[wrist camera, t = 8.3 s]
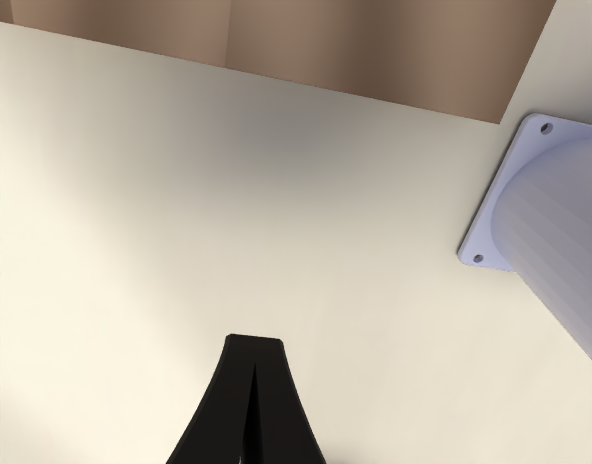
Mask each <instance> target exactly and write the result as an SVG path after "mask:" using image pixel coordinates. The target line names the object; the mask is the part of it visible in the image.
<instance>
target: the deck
mask: <svg viewBox="0 0 592 464" xmlns="http://www.w3.org/2000/svg"><path fill="white" fill-rule="evenodd" d="M555 2H556V0H0V22H5V23H10V24H15V25H19V26H24V27H29V28H34V29H39V30H44V31H48V32H53V33H58V34H63V35H68V36H73V37H78V38H82V39H87V40H92V41H97V42H102V43H107V44H112V45H116V46H121V47H126V48H131V49H136V50H141V51H146V52H150V53H155V54H160V55H165V56H170V57H175V58H179V59H184V60H189V61H194V62H199V63H204V64H209V65H213V66H218V67H223V68H228V69H233V70H238V71H243V72H247V73H252V74H257V75H262V76H267V77H272V78H277V79H281V80H286V81H291V82H296V83H301V84H306V85H311V86H315V87H320V88H325V89H330V90H335V91H340V92H344V93H349V94H354V95H359V96H364V97H369V98H374V99H378V100H383V101H388V102H393V103H398V104H403V105H408V106H412V107H417V108H422V109H427V110H432V111H437V112H442V113H446V114H451V115H456V116H461V117H466V118H471V119H475V120H480V121H485V122H490V123H495V124H500V122H501V119H502V117H503V115H504V113H505V111H506V109H507V106H508V104H509V102H510V100H511V98H512V96H513V93H514V91H515V89H516V87H517V85H518V83H519V80H520V78H521V76H522V74H523V72H524V70H525V67H526V65H527V63H528V61H529V59H530V57H531V54H532V52H533V50H534V48H535V46H536V44H537V41H538V39H539V37H540V35H541V33H542V31H543V28H544V26H545V24H546V22H547V20H548V18H549V15H550V13H551V11H552V9H553V7H554V5H555Z"/></svg>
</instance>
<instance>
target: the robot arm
mask: <svg viewBox="0 0 592 464" xmlns="http://www.w3.org/2000/svg"><path fill="white" fill-rule="evenodd" d="M546 123H548V126H547V128H546V129H545V130H544V131H543V132H541V127H542V126H543V125H544V124H546ZM476 255H480V256H479V257H477V258H474V257H475V256H476ZM458 258H459V260H460V261H461V262H462V263H463V264H466V265H473V266H479V267H485V268H492V269H498V270H504V271H511V272H516V273H517V274H518V275H519V276H520V277H521V278H522V280H523V281H524V282H525V283H526V284H527V285H528V286H529V288H530V289H531V290H532V291H533V292H534V293H535V295H536V296H537V297H538V298H539V299H540V300H541V302H542V303H543V304H544V305H545V306H546V307H547V309H548V310H549V311H550V312H551V313H552V314H553V315H554V317H555V318H556V319H557V320H558V321H559V322H560V324H561V325H562V326H563V327H564V328H565V329H566V331H567V332H568V333H569V334H570V335H571V336H572V338H573V339H574V340H575V341H576V342H577V343H578V345H579V346H580V347H581V348H582V349H583V350H584V351H585V353H586V354H587V355H588V356H589V357H590V358H591V360H592V125H590V124H586V123H581V122H576V121H572V120H567V119H562V118H558V117H553V116H548V115H543V114H539V113H533V114H530V115H528V116H527V117H526V118H525V119H524V120H523V121H522V123H521V125H520V127H519V129H518V131H517V133H516V135H515V137H514V139H513V141H512V143H511V146H510V148H509V150H508V152H507V154H506V156H505V158H504V160H503V162H502V164H501V166H500V168H499V170H498V172H497V174H496V176H495V178H494V180H493V182H492V184H491V186H490V188H489V190H488V192H487V194H486V197H485V199H484V201H483V203H482V205H481V207H480V209H479V211H478V213H477V215H476V217H475V219H474V221H473V223H472V225H471V227H470V229H469V231H468V233H467V235H466V237H465V239H464V241H463V243H462V246H461V248H460V250H459V252H458ZM239 463H240V464H326V461H325V459H324V457H323V455H322V453H321V450H320V448H319V446H318V444H317V442H316V439H315V437H314V434H313V432H312V430H311V427H310V425H309V422H308V420H307V417H306V414H305V412H304V409H303V407H302V404H301V402H300V399H299V396H298V393H297V390H296V388H295V384H294V381H293V378H292V375H291V372H290V369H289V365H288V362H287V358H286V354H285V350H284V345H283V342H282V341H281V340H280V339H276V338H267V337H257V336H248V335H239V334H230V335H228V336H226V339H225V344H224V347H223V351H222V354H221V357H220V359H219V362H218V365H217V367H216V370H215V372H214V374H213V377H212V379H211V381H210V383H209V385H208V387H207V389H206V391H205V393H204V396H203V398H202V400H201V402H200V404H199V406H198V408H197V410H196V412H195V413H194V415H193V417H192V419H191V421H190V423H189V424H188V426H187V428H186V430H185V431H184V433H183V435H182V437H181V438H180V440H179V442H178V444H177V445H176V447H175V449H174V451H173V452H172V454H171V456H170V457H169V459H168V460H167V462H166V464H239Z"/></svg>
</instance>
